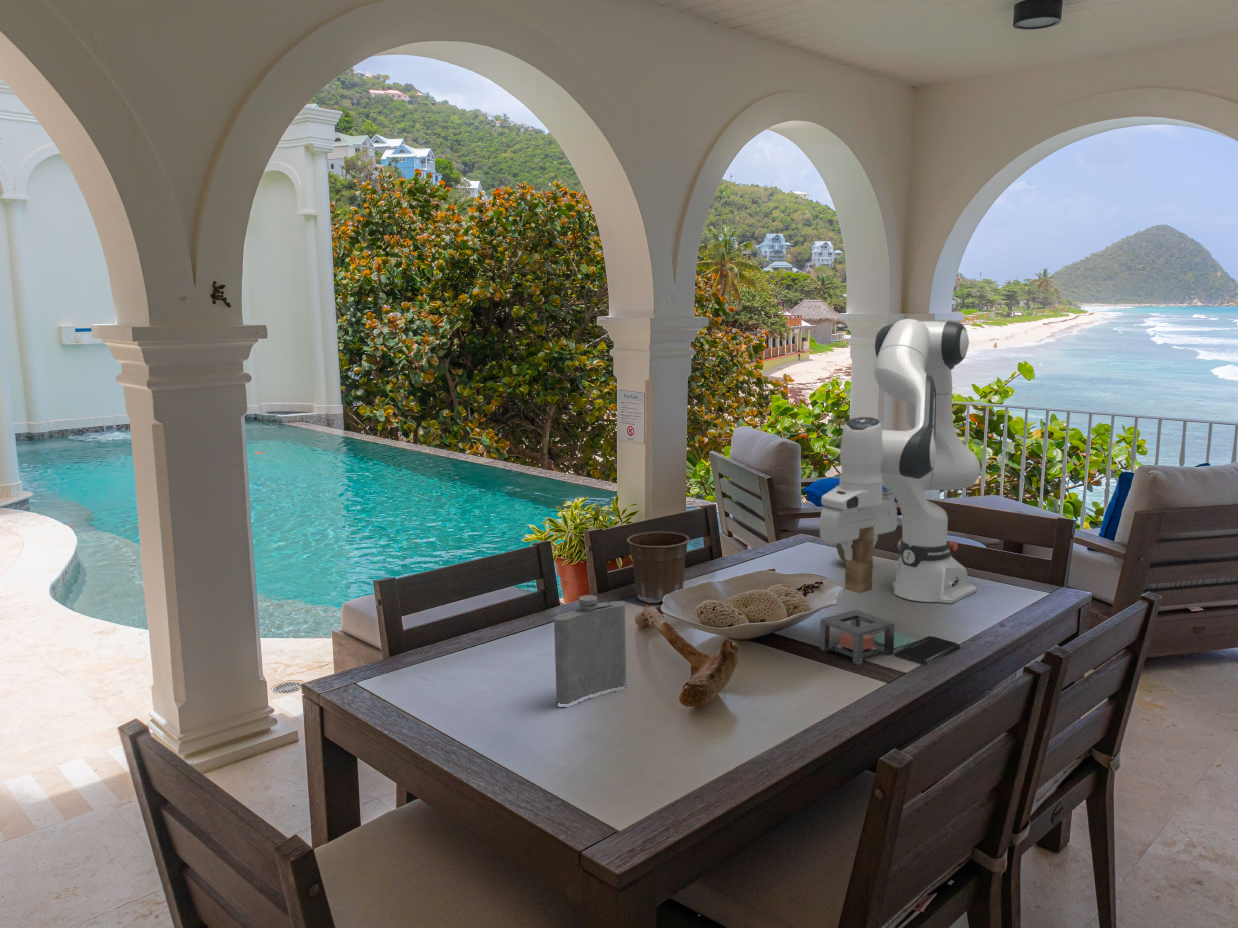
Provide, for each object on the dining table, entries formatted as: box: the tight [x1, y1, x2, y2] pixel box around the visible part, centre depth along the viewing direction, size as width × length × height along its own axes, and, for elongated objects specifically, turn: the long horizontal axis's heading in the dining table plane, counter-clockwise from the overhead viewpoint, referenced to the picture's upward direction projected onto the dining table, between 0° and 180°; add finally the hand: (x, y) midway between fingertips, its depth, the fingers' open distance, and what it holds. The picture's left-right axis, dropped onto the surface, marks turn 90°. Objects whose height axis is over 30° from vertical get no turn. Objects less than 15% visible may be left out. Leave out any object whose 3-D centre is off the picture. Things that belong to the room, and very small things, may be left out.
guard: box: [819, 609, 895, 666], centre depth 192 cm, size 11×11×7 cm
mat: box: [871, 631, 919, 651], centre depth 199 cm, size 8×8×1 cm
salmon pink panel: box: [838, 632, 875, 650], centre depth 192 cm, size 5×5×2 cm
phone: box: [894, 635, 961, 666], centre depth 192 cm, size 8×1×15 cm
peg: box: [844, 527, 874, 594], centre depth 189 cm, size 4×4×14 cm
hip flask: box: [553, 594, 627, 704], centre depth 171 cm, size 16×4×20 cm, turn 127°
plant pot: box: [626, 531, 690, 600], centre depth 232 cm, size 16×16×16 cm
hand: (858, 557), depth 189 cm, fingers closed on peg, 4 cm apart
